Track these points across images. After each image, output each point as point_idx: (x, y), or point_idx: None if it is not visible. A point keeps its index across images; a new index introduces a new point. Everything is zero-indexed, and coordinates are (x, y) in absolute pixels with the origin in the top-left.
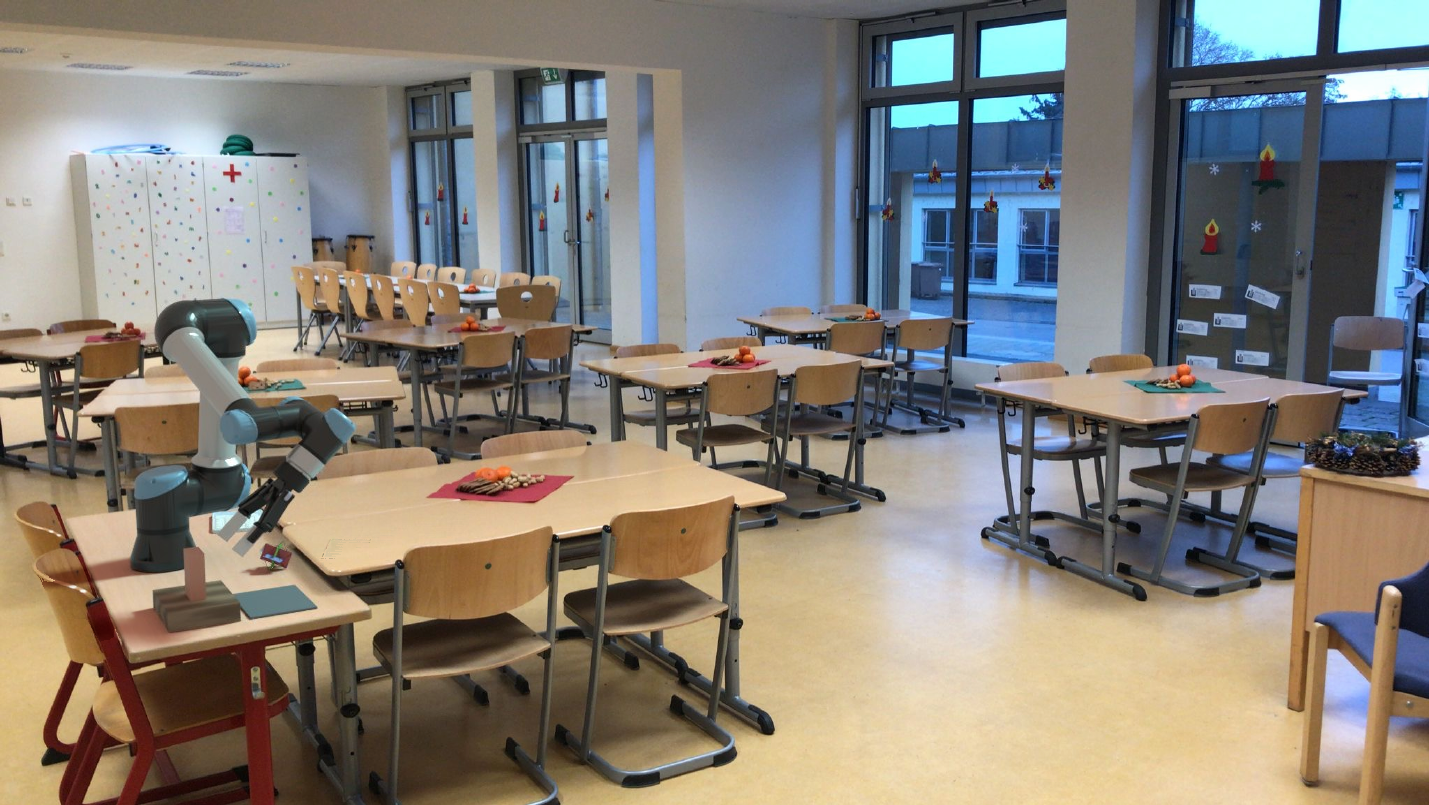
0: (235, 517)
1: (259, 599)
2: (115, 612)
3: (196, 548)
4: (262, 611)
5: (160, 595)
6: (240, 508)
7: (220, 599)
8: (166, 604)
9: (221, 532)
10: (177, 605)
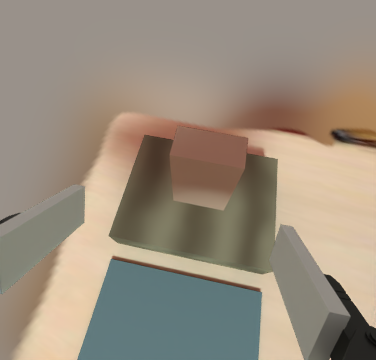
0: (311, 291)
1: (195, 323)
2: (274, 135)
3: (230, 159)
4: (124, 291)
5: None
6: (370, 342)
7: (153, 217)
8: None
9: (283, 235)
10: None
